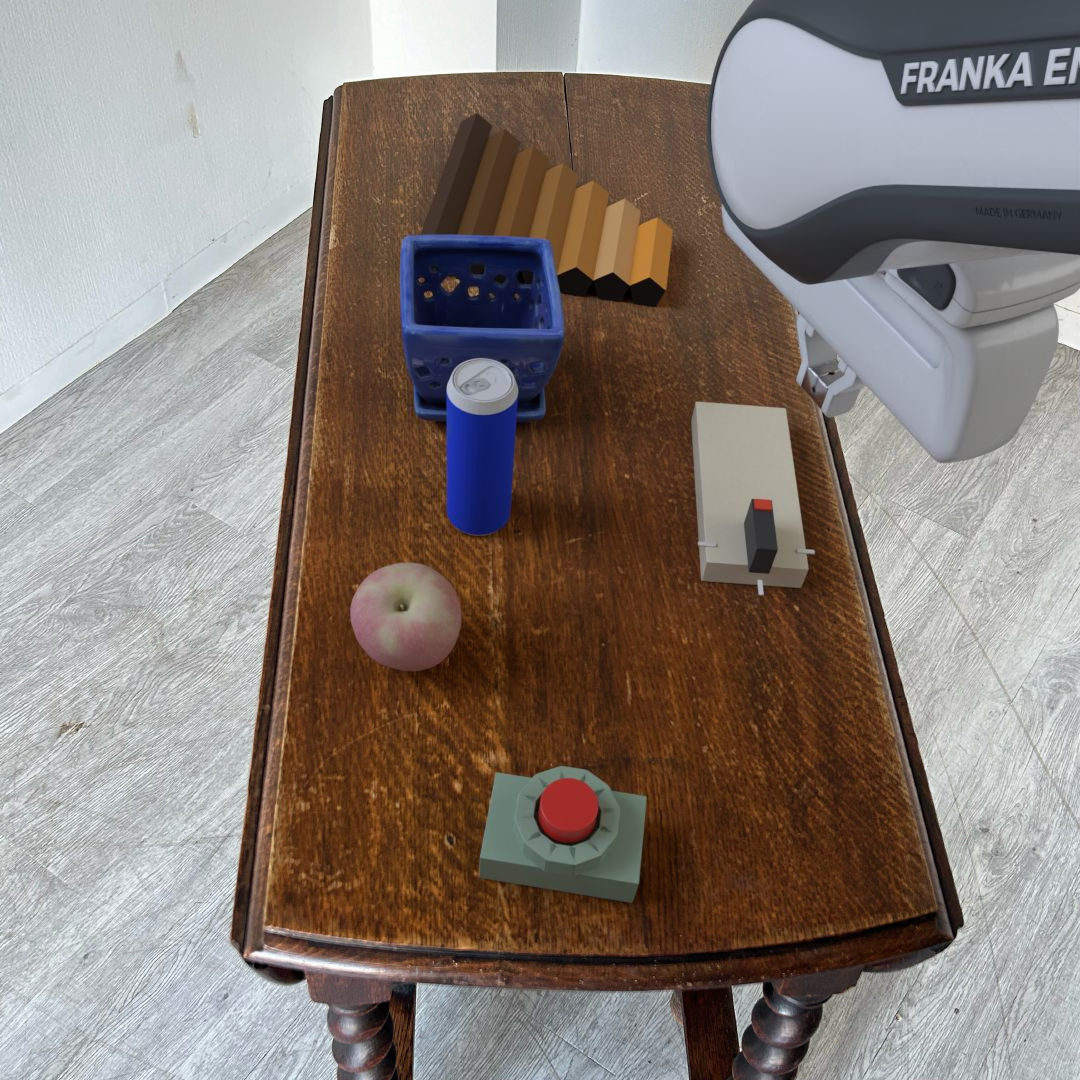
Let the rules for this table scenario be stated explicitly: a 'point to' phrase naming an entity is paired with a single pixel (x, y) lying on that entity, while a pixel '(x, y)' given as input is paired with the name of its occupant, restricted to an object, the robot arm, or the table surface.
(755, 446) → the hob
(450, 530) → the table surface
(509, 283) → the flower pot
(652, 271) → the pan flute
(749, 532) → the dark grey red-tipped block
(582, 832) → the power button
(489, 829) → the control block
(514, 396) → the beverage can
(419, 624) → the apple
